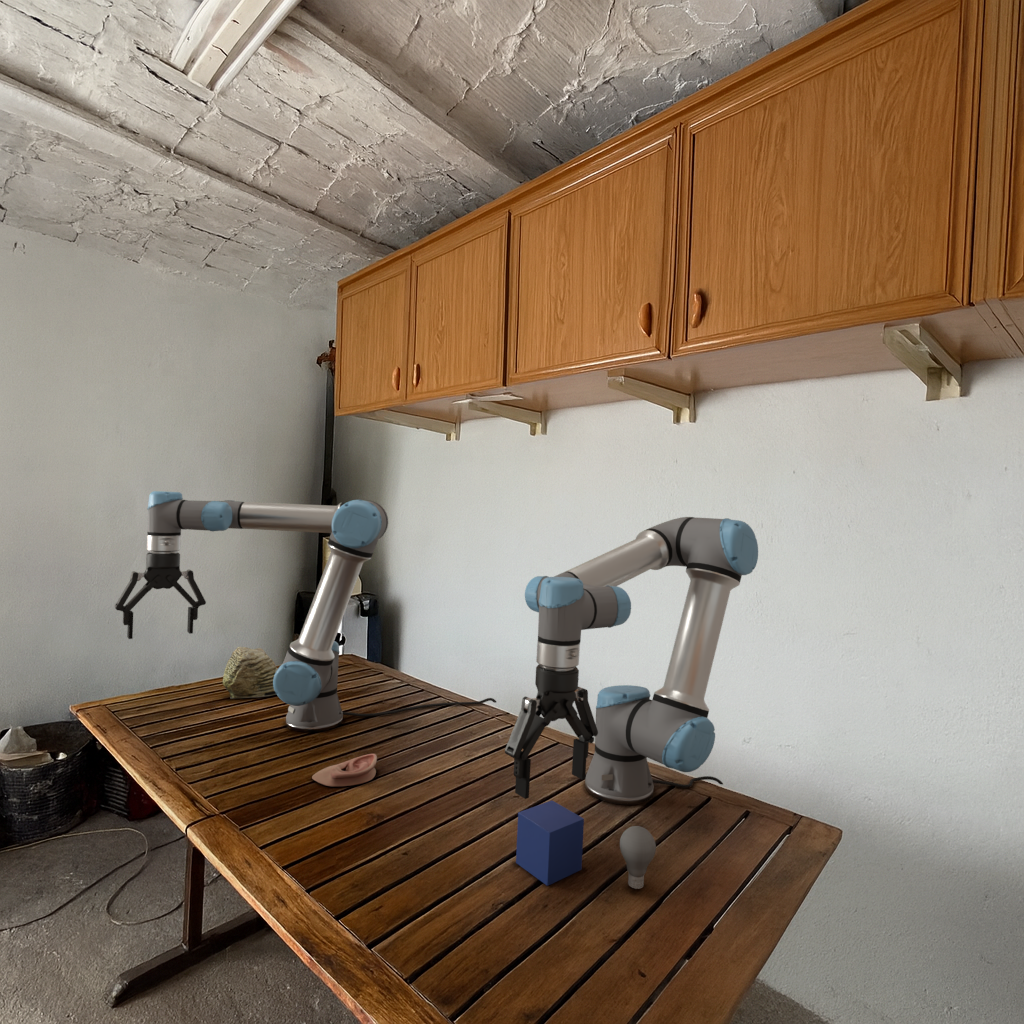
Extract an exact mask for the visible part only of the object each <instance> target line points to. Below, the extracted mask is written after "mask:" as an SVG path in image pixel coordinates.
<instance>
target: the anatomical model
mask: <svg viewBox="0 0 1024 1024" xmlns="http://www.w3.org/2000/svg"><path fill="white" fill-rule="evenodd" d="M377 761H378V756H377V754H376V753H368V754H363V755H360V756H357V757H354V758H351V759H348V760H346V761H343V762H340V763H337V764H332V765H329V766H326V767H324V768H322V769H320V770H318V771H317V772H315V773H314V774H313V775H312V776H311V779H312V780H313V781H315V782H317V783H318V784H321V785H323V786H327V787H333V788H334V787H347V786H356V785H361V784H364V783H367V782H369V781H372V780H373V779H374V778H375V776H376V773H377V770H376V768H375V767H376V764H377Z"/></svg>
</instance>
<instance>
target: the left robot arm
mask: <svg viewBox="0 0 1024 1024" xmlns="http://www.w3.org/2000/svg"><path fill="white" fill-rule="evenodd" d="M146 509H147V534H146V551H148V552H147V553H146V554H145V555H146V557H145V559H146V560H145V571H144V572H137V571H135V570H133V571H131V573H130V577H129V578H130V579H129V581H128V583H127V585H126V587H125V588H124V590H123V591H122V593H121V595H120V596H119V598H118V599H117V601H116V603H115V605H114V609H115V610H116V611H120V612H122V624H123V625H124V626H127V633H126V634H127V635H126V637H127V639H128V640H133V635H134V634H133V632H134V611H133V610H132V609H134V607H135V606H136V605H137V604H139V602H140V601H141V600H142V599H143V598H144V597H145V596H146V595H147V593H149V592H151V590H152V589H154V590H162V589H166V590H169V589H172V588H174V589H175V590H176V591H177V592H178V594H180V595H181V597H182V598H184V599H185V601H186V602H188V604H189V605H190V606H188V607H187V631H186V632H187V633H188V634H194V621H197V620H198V618H199V615H198V614H199V608H200V607H202V606H205V605H206V604H207V601H206V599H205V598H204V596H203V594H202V592H201V590H200V587H199V586H198V584H197V582H196V580H195V576H194V575H195V574H194V571H193V570H192V569H186V570H181V553H180V552H179V551H181V537H182V536H181V535H182V530H189V531H191V530H193V531H207V532H209V531H210V532H225V531H227V530H229V529H233V530H236V529H237V530H259V531H260V530H262V531H278V532H279V531H281V532H301V533H303V532H304V533H320V534H321V533H323V534H330V535H329V538H328V541H327V546H328V548H329V550H330V552H329V556H328V558H327V561H326V564H325V566H324V568H323V572H322V575H321V577H320V580H319V583H318V585H317V588H316V591H315V594H314V596H313V599H312V602H311V604H310V606H309V610H308V613H307V615H306V617H305V620H304V623H303V625H302V628H301V631H300V634H299V636H298V638H297V639H296V640H294V641H291V642H290V644H289V646H288V649H287V651H286V654H285V656H284V660H283V662H282V664H281V665H280V666H279V667H277V668H278V670H277V671H276V673H275V675H274V679H273V687H274V691H275V692H276V695H277V698H279V699H280V700H281V701H282V702H283V703H285V704H287V705H289V706H288V708H287V713H286V715H285V726H286V728H287V729H289V730H291V731H294V732H295V731H296V732H301V733H316V732H325V731H329V730H332V729H335V728H337V727H339V726H340V725H342V723H343V722H344V716H350V717H351V716H353V717H359V718H364V717H366V718H369V717H381V716H387V715H393V714H394V715H395V714H397V713H403V712H407V711H412V710H413V711H414V710H418V709H419V710H420V709H425V708H433V707H444V706H470V705H471V706H473V705H481V704H484V703H486V702H489V701H490V702H493V703H495V704H496V703H497V700H496V699H494V698H493V697H487V698H484V699H482V700H478V701H457V702H456V701H455V702H438V703H437V702H436V703H428V704H421V705H415V706H409V707H403V708H399V709H395V710H389V711H381V712H374V713H373V712H371V713H357V712H350V711H343V709H342V706H341V702H340V699H339V695H338V682H339V681H338V680H339V662H340V661H339V660H340V659H339V657H340V645H339V643H338V642H337V641H335V640H336V637H337V635H338V632H339V629H340V627H341V624H342V621H343V619H344V616H345V614H346V610H347V607H348V605H349V602H350V599H351V597H352V595H353V591H354V588H355V586H356V585H357V584H356V583H357V581H358V577H359V575H360V573H361V570H362V567H363V565H364V563H365V562H367V561H369V560H371V559H372V557H373V554H374V553H375V549H376V548H377V544H378V541H379V540H381V538H383V536H384V535H385V534H386V533H387V530H388V527H389V517H388V513H387V512H386V509H384V507H383V506H382V505H381V504H379V503H378V502H376V501H374V500H368V499H364V500H363V499H353V500H349V501H347V502H340V503H338V504H337V505H328V504H327V505H324V504H306V503H305V504H304V503H303V504H301V503H283V502H281V503H280V502H263V501H262V502H260V501H259V502H257V501H237V500H231V499H229V500H227V499H226V500H187V499H184V498H183V494H182V492H179V491H164V490H163V491H160V490H159V491H158V490H154V491H151V492H150V493H149V495H148V504H147V508H146ZM181 577H183V578H184V579H185V580H186V581H187V582H188V584H189V586H190V588H191V590H192V592H193V594H194V596H195V598H196V599H197V600H196V601H195V599H194V598H193V597H192V596H191V595H190V594H189V593H188V592H187V591H186V589H184V588H183V586H182V585H181V584H180V583H179V582H178V581H179V580H180V579H181ZM142 578H144V580H145V581H146V582H145V583H144V585H143V586H142V587H141V588H140V589H139V591H138V592H137V593H135V595H134V596H133V597H132V598H131V599H130V600H129V601H128V602H127V600H128V598H129V597H130V595H131V594H132V592H133V590H134V589H135V587H136V585H137V583H138V582H140V581H141V579H142ZM126 602H127V603H126Z"/></svg>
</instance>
